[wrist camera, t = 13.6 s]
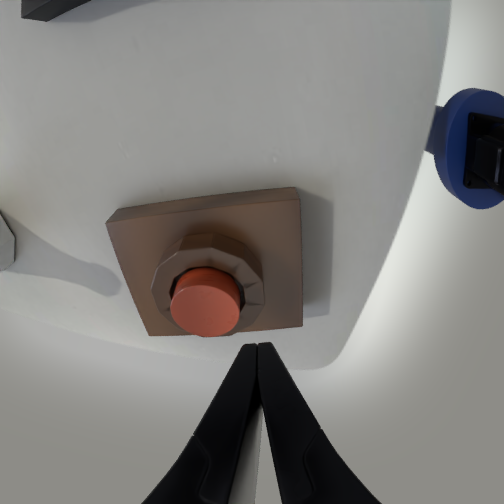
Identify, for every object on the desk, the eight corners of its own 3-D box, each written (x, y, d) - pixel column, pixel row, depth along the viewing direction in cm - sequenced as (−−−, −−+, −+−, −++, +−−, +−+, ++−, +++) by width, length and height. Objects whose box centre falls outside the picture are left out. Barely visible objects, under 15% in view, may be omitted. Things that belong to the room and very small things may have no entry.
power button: (235, 264, 17) (234, 282, 16) (243, 315, 19) (243, 335, 18) (168, 270, 18) (161, 288, 16) (184, 319, 20) (180, 338, 18)
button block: (294, 186, 19) (305, 211, 15) (299, 307, 24) (306, 344, 20) (117, 208, 19) (92, 236, 16) (155, 318, 24) (143, 353, 21)
